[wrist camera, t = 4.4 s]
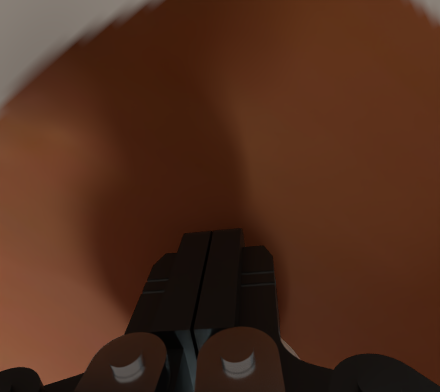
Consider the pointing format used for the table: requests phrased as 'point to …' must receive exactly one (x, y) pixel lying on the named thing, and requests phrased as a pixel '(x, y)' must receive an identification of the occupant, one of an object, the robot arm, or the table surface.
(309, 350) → the table surface
